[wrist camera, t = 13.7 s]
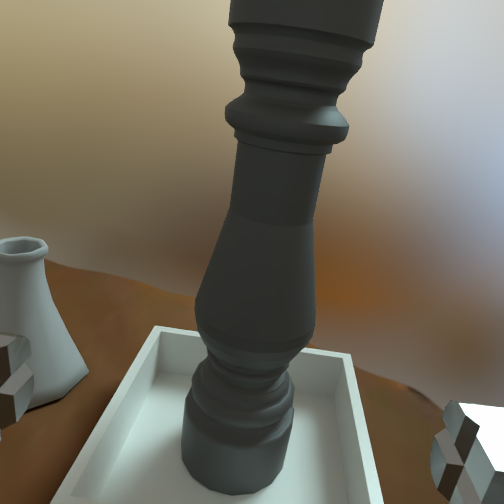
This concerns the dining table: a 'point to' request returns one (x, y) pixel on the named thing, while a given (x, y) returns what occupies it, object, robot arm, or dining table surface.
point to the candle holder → (269, 234)
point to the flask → (37, 319)
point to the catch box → (170, 431)
